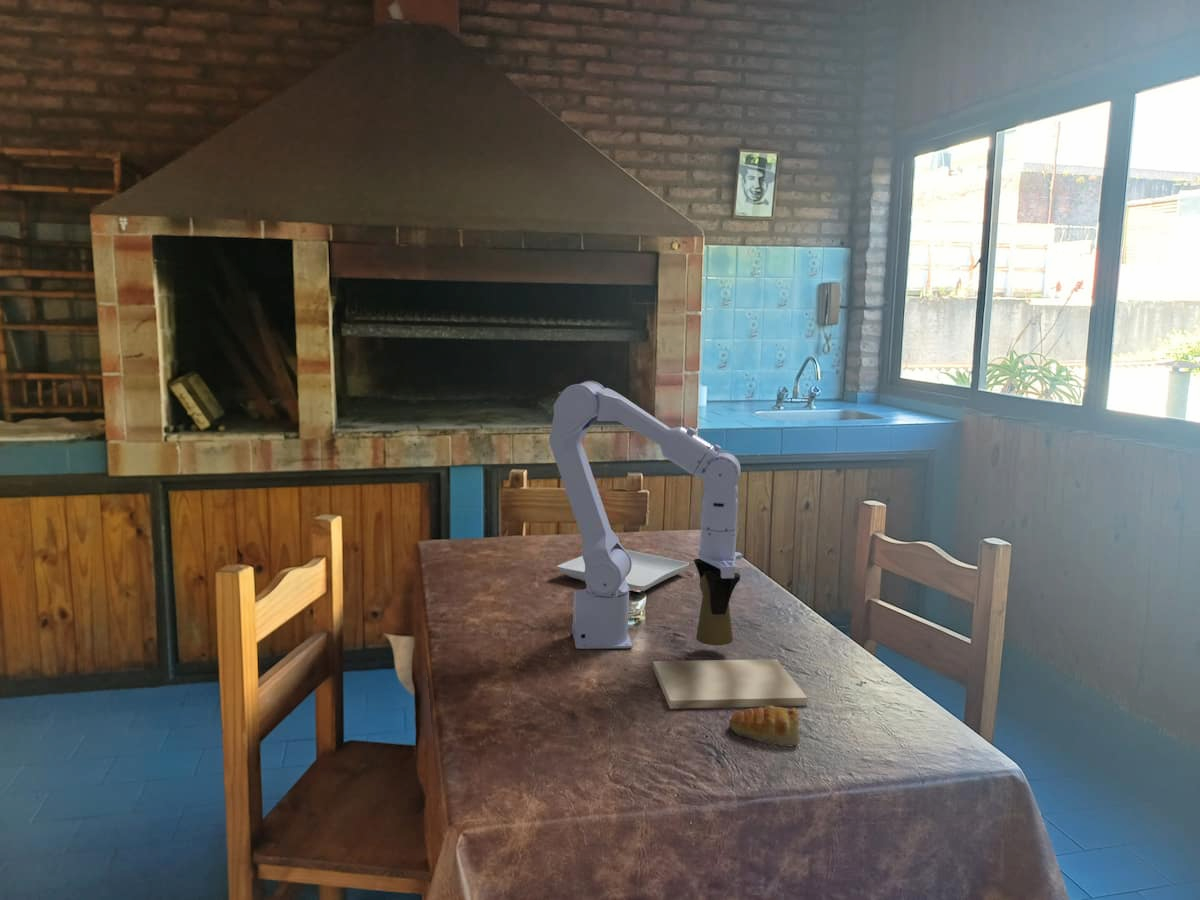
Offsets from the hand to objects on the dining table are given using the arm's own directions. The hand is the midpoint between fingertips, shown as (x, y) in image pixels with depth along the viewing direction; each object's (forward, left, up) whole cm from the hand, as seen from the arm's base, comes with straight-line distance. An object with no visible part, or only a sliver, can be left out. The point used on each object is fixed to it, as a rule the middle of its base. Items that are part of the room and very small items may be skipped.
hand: (714, 607), depth 140 cm
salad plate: (-9, +42, -8) cm, 44 cm away
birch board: (-1, -13, -8) cm, 15 cm away
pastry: (+1, -28, -8) cm, 29 cm away
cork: (0, 0, -5) cm, 5 cm away
